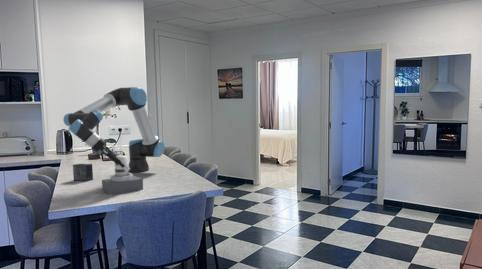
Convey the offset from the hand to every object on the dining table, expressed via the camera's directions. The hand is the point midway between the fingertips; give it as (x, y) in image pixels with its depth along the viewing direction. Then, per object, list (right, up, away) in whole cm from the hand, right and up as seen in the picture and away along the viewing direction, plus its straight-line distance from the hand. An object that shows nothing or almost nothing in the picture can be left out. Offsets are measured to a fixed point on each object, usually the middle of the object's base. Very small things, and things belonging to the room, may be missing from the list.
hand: (128, 169), depth 196 cm
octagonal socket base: (-3, -12, 0) cm, 12 cm away
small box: (-38, -10, +29) cm, 49 cm away
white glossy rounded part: (-3, -4, -1) cm, 5 cm away
